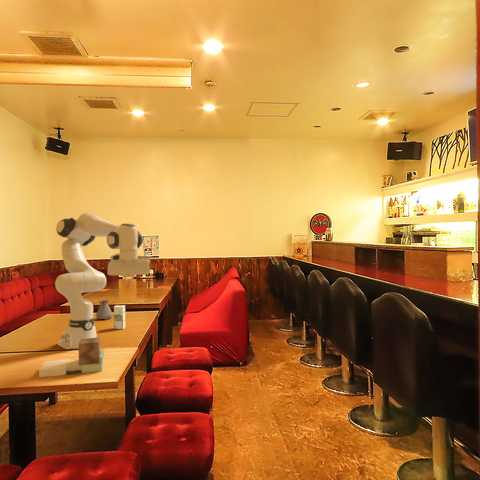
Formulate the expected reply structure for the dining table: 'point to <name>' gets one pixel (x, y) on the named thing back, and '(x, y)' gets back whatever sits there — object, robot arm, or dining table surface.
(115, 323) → the syrup box
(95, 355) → the walnut block
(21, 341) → the dining table surface
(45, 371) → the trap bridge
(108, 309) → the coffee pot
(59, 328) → the dining table surface
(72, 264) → the robot arm
